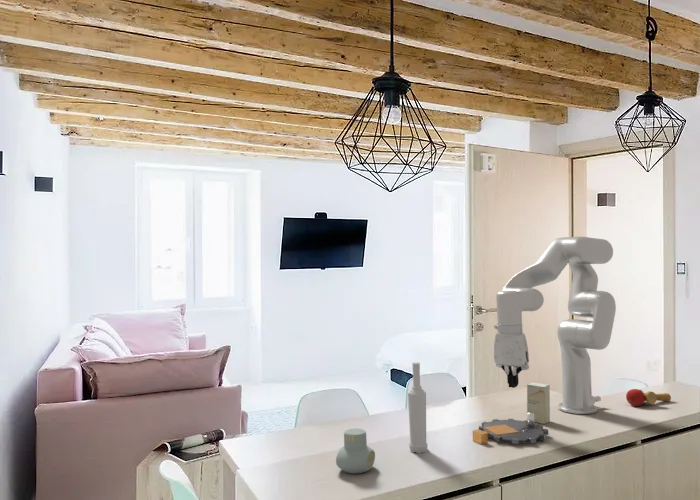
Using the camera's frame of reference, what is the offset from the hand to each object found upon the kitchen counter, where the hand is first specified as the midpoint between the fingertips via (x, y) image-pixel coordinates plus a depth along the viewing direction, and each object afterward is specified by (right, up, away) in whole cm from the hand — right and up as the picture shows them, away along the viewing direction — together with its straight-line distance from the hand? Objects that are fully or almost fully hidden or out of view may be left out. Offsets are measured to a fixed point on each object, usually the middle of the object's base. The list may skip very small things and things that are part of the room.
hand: (513, 386), depth 176 cm
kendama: (+56, -12, +23) cm, 62 cm away
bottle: (-32, -14, -18) cm, 40 cm away
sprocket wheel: (-2, -13, -7) cm, 15 cm away
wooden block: (-7, -13, -9) cm, 18 cm away
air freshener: (-50, -15, -31) cm, 61 cm away
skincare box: (+10, -13, +6) cm, 18 cm away
